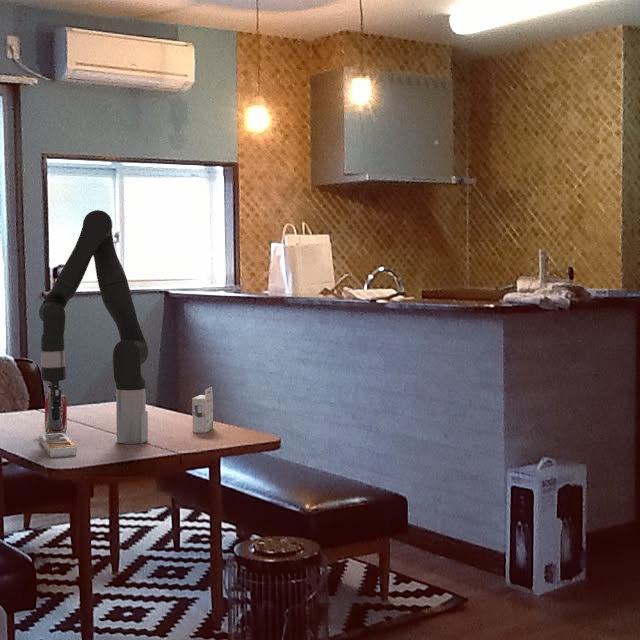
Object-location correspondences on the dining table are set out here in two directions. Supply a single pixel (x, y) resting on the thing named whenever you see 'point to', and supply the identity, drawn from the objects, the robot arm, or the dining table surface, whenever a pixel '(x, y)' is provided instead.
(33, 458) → the dining table surface
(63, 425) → the soda can
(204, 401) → the ink box
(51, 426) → the steel pin
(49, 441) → the white compartment tray
